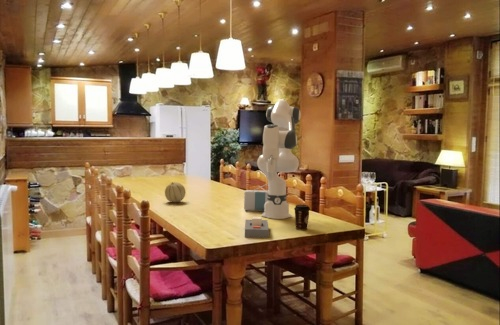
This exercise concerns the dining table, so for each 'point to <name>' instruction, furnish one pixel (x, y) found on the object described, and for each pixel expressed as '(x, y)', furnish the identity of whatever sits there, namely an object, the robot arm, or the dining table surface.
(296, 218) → the coffee cup
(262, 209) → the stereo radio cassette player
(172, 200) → the cantaloupe
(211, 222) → the dining table surface
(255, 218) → the plug
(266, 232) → the socket block
